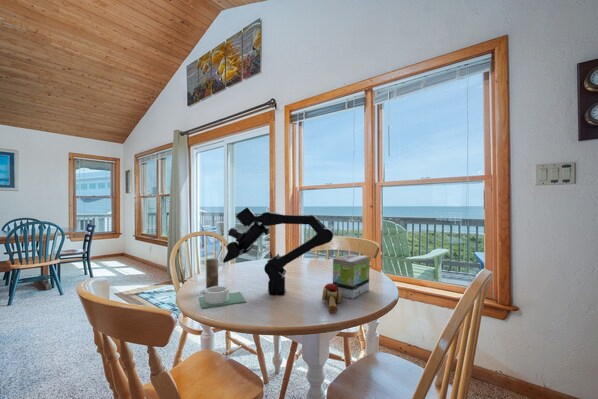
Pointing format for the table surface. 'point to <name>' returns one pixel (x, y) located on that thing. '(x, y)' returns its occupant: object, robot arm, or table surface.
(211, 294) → the putting mat
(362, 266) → the tea box
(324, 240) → the robot arm
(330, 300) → the kendama
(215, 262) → the walnut peg
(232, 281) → the table surface
